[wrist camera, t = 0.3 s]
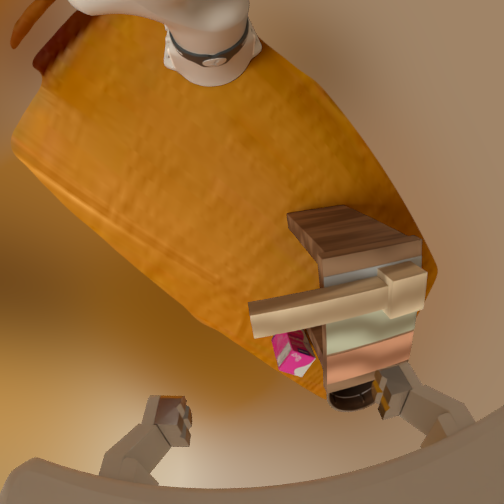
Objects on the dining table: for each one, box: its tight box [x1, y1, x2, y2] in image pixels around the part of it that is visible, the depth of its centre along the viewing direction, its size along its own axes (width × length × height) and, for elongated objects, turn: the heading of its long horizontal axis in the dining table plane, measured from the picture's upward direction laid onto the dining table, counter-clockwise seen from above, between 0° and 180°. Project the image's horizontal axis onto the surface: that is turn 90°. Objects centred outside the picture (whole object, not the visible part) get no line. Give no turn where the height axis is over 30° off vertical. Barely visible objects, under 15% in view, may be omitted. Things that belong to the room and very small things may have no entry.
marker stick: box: [248, 261, 427, 339], centre depth 32 cm, size 5×21×4 cm, turn 99°
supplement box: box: [272, 329, 316, 377], centre depth 60 cm, size 6×6×12 cm
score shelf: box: [287, 205, 422, 394], centre depth 48 cm, size 22×14×26 cm, turn 9°
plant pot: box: [327, 380, 376, 412], centre depth 61 cm, size 16×16×16 cm
